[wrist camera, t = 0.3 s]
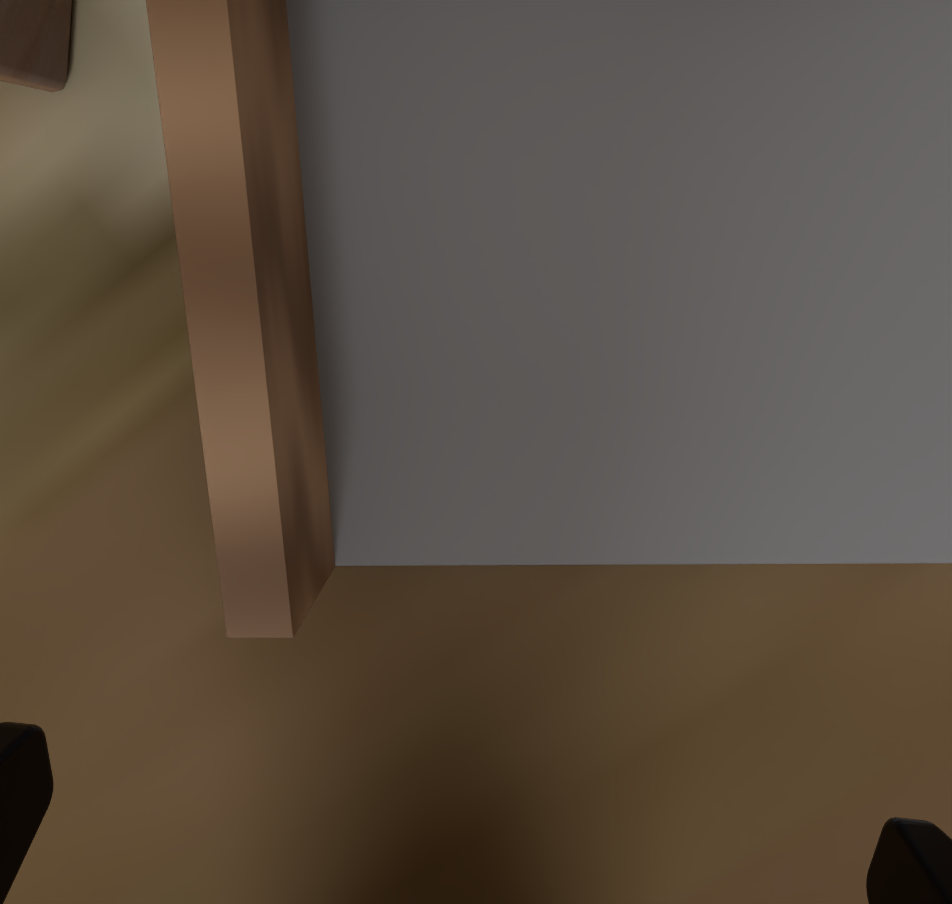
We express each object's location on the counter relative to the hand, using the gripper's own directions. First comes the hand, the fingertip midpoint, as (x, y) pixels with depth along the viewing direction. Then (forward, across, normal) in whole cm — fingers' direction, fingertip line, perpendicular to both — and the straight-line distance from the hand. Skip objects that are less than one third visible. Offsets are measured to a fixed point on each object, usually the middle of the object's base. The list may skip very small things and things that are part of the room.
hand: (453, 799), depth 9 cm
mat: (+14, -2, -4) cm, 15 cm away
